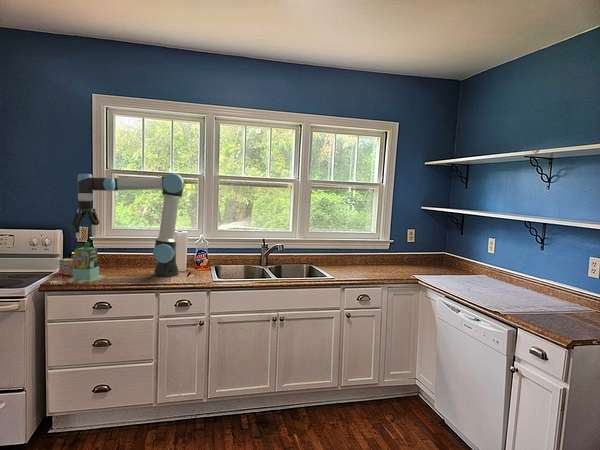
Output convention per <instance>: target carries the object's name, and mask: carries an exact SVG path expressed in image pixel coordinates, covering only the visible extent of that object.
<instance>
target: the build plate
mask: <svg viewBox="0 0 600 450" xmlns="http://www.w3.org/2000/svg"><path fill="white" fill-rule="evenodd" d="M106 279H108V275H100V274H99V277H96V278H94V279H91V280H80V279H73V276H72V277H69V278H66V279H64V280H63V281H64V282H68V283H69V284H83V285H85V284H87V285H91V284H95V283H97V282H100V281H103V280H106ZM68 283H67V284H68Z"/></svg>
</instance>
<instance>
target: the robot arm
mask: <svg viewBox="0 0 600 450" xmlns="http://www.w3.org/2000/svg"><path fill="white" fill-rule="evenodd" d="M76 183H77V199H78V201H77V203H78V204H77V205H78V209H75V215H74V218H73V221H72V224H71V225H72V227H74V228H75V239H82V226H81V225H82V223H83V221H84V219H85V218H86V217H87V218H88V219H89V221H90V223H91V236H92V237H97V235H98V233H97V231H98V226H99V224H100V221H99V218H98V214H97V212H96V208H93V207H94V201H93V200H94V195H93V193H94V192H93V191H102V192H103V191H104V192H105V191H107V192H112V191H113V192H114V191H115V192H117V191H159V190H160V191H162V192H161V194H162V196H163V204H162V212H161V219H160V226H159V231H158V237H156V238H155V241H154V242H155V243H154V248H153V251H152V256H153V258H154V260H155V261H156V265H155V268H154V270H153V275H154V276H155V277H161V278H163V277H166V278H169V277H176V276H178V275H179V274H180V272H179V267H178V263H177V241H176V239H174V237H175V231H176V223H177V215H178V210H179V209H178V208H179V201H180V199H182V197H183V192H184V188H185V180H184V177H183V176H182V175H180V174H178V173H175V172H172V173H168V174H166V175H162V176H161V177H131V178H130V177H126V178H125V177H124V178H123V177H122V178H120V177H118V178H117V177H116V178H115V177H93V175H92V173H78V174H77V182H76Z"/></svg>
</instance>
